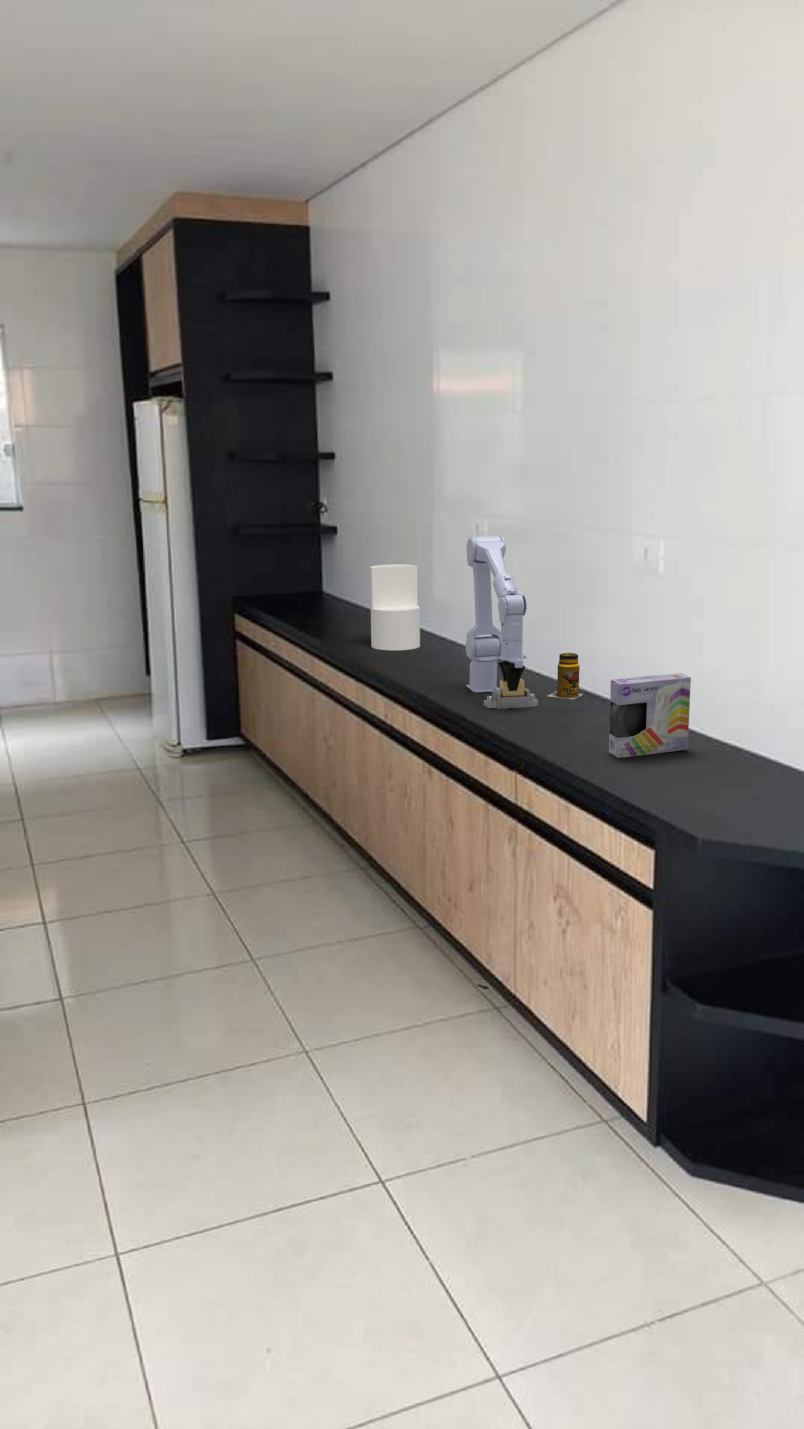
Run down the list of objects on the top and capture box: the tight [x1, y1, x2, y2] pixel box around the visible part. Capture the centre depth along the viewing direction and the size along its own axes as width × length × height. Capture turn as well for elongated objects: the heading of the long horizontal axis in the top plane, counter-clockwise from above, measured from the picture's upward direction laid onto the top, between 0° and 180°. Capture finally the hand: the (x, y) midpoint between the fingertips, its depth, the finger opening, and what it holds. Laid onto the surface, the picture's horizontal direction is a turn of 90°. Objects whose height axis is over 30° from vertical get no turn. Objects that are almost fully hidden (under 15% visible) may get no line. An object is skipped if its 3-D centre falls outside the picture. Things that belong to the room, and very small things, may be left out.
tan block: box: [499, 678, 525, 698], centre depth 304 cm, size 3×6×6 cm, turn 101°
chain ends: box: [483, 686, 539, 710], centre depth 305 cm, size 6×14×4 cm, turn 101°
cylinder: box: [369, 563, 421, 651], centre depth 396 cm, size 17×17×28 cm
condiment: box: [547, 652, 584, 700], centre depth 316 cm, size 7×8×12 cm
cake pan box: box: [608, 672, 692, 759], centre depth 256 cm, size 19×5×18 cm, turn 106°
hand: (511, 689), depth 304 cm, fingers closed on tan block, 3 cm apart
